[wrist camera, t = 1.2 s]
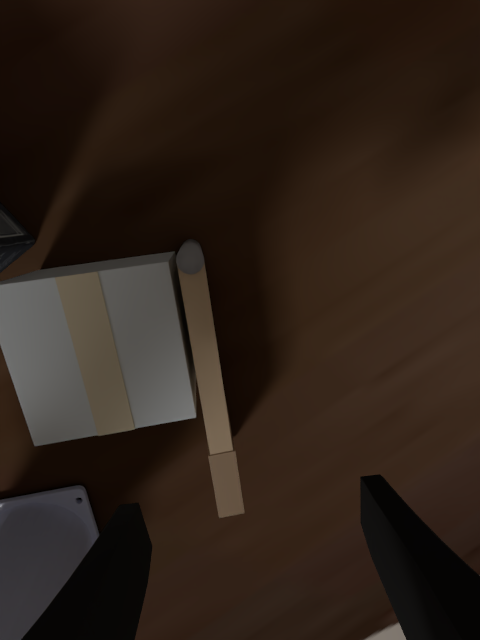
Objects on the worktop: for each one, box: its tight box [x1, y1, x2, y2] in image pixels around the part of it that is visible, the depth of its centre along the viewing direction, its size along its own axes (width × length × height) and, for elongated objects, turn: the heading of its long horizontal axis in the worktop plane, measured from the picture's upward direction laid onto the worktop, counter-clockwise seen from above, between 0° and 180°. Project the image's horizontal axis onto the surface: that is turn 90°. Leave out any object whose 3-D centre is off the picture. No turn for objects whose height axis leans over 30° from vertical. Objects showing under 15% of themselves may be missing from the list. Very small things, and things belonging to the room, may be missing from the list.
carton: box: [0, 251, 196, 446], centre depth 19 cm, size 8×8×6 cm
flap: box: [176, 239, 244, 518], centre depth 20 cm, size 15×1×7 cm, turn 7°
